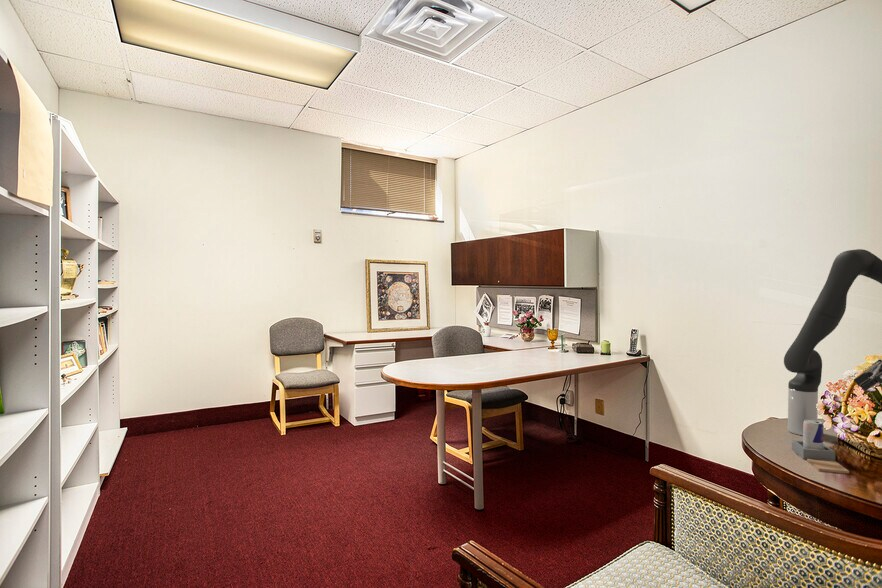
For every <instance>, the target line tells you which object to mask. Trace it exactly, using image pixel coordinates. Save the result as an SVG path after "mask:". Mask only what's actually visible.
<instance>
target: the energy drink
mask: <svg viewBox="0 0 882 588" xmlns="http://www.w3.org/2000/svg"><path fill="white" fill-rule="evenodd" d="M802 438H803V439H802V441H803V447H804V448H807V449H819V450H823V443H824V424H823V422H822V421H820V420H818V419H817V420H811V419H806V420H804V423H803V435H802Z"/></svg>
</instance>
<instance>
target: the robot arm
mask: <svg viewBox="0 0 882 588" xmlns="http://www.w3.org/2000/svg"><path fill="white" fill-rule="evenodd" d="M859 276H863V277H866V278H869V279H871V280H873V281H876V282H877V283H879V284H880V285H882V259H881V258H880V257H878V256H877V255H876V254H874V253H872V252H871V251H869V250H866V249H862V248H858V249H851V250H850V249H848V250H845V251H843V252H840V253H839V254H838V255H836V257H835V259H834V260H833V262H832V265H831V267H830V269H829V273H828V275H827V277H826V281H825V284H824V285H823V287H822V289H821V291H820V293H819V294H818V297H817V298H816V300H815V302H814V304H813V305H812V307H811V309H810V311H809V313H808V316H807V317H806V320H805V322H804V323H803V325H802V327H801V328H800V331H799V333H798V334H797V336H796V337H795V339H794V340H793V342H792V344H791V345H790V347H788V350H787V351H786V352H785V354H784V357H783V365H784V368H785V369H786V370H787V371H788V372H791V373H795V374H796V375H795V376H793V378H792V379H790V380H789V381H788V385H787V387H788V388H787V390H788V393H787V394H788V395H787V396H788V397H787V401H788V402H787V431H788V432H790V433H792V434H795V435H799V436H803V423H804V420H806V419H811V420H817V421H818V413H819V411H818V410H817V408H816V404H817V403H818V404H819V402H818V401H819V386H820V385H821V382H822V373H823V360H822V356H821V355H820V353H819V352H818V351H817V350H815V348H816V347H817V345H819V343H820V342H821V341H823V340H824V339H825V338H827V336H829V335H830V334H831V333H832V332H834V331H835V329H836V328H837V327H838V326H839V324H840V322H841V321H842V319H843V316H844V315H845V312H846V309H847V299H848V298H847V297H848V293H849V290H850V289H851V287H852V285H853V283H854V282H855V281H856V279H857V278H858V277H859ZM874 364H875V365H874ZM871 365H873V366H871V367H869V366H868V367H869V369H868V370H867V371H864V370H863V372H862V373H861V374H860V375H858V376H857V377H855V378H853V382H854V383H855V384H856V385H859V387H860V388H862V389H863V391H868V390H870V388H872V387H874V386H876V385H879V384H882V359H881V358H880V359H878V360H876V361H875V362H874V363H872V364H871Z"/></svg>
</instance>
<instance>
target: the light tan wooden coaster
mask: <svg viewBox="0 0 882 588" xmlns="http://www.w3.org/2000/svg"><path fill="white" fill-rule="evenodd" d="M806 461H807V462H808V464H810V465H811V466H812V467H813V468H815V469H816V470H817V471H818V472H825V473H827V472H829V473H836V474H837V473H838V474H850V471H849V470H848V469H847V468H846V467H844V466H843V465H842V464H841V463H839V462H838V461H836V460H835V461H826V460H815V459H807V460H806Z"/></svg>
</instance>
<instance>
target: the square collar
mask: <svg viewBox="0 0 882 588" xmlns="http://www.w3.org/2000/svg"><path fill="white" fill-rule="evenodd" d="M791 451H793V452H794V453H795V454H796V455H797V456H799V457H800V458H801V459H802V460H805V461H807V459H815V460H826V461H836V451H835V450H833V448H830V447H829V446H828V445H826V444H825V443H824V442H823V450H819V449H807V448H804V447H803V440H796V439H792V440H791Z"/></svg>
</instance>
